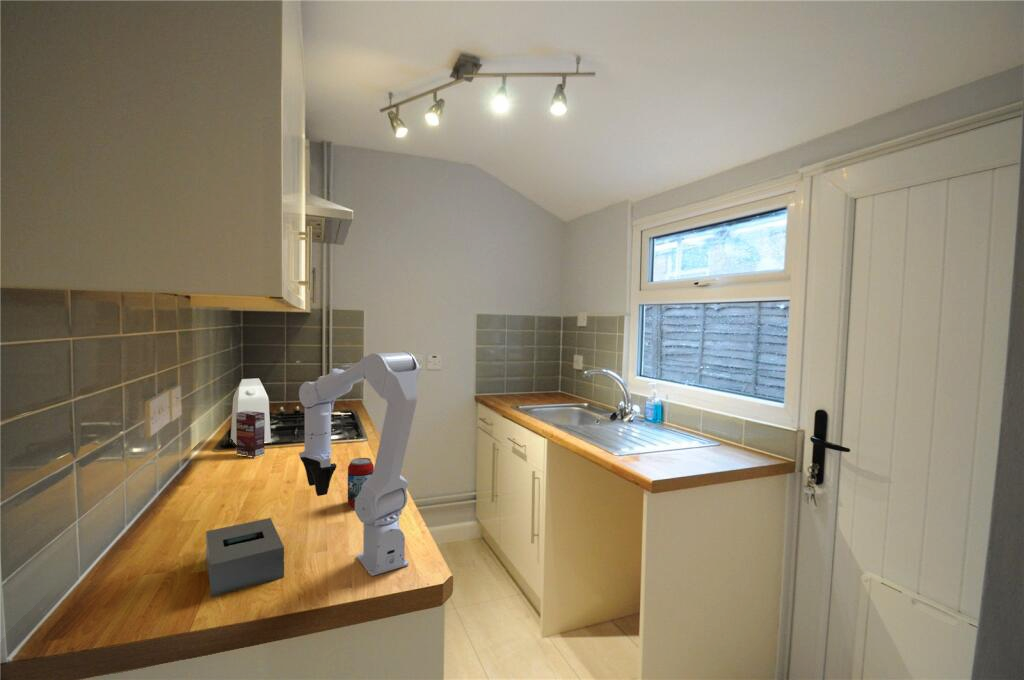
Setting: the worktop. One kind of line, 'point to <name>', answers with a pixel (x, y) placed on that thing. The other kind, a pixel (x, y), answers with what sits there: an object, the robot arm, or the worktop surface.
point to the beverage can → (358, 477)
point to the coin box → (243, 556)
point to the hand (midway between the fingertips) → (317, 489)
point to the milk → (251, 404)
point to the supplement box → (250, 433)
